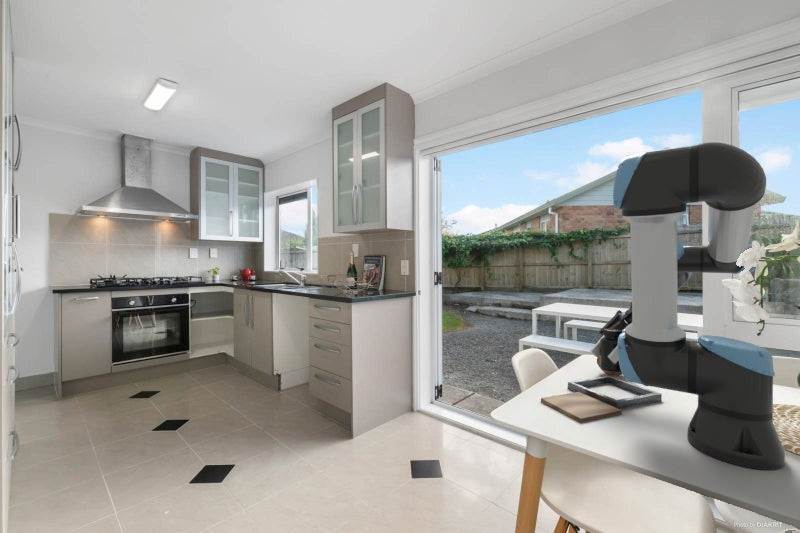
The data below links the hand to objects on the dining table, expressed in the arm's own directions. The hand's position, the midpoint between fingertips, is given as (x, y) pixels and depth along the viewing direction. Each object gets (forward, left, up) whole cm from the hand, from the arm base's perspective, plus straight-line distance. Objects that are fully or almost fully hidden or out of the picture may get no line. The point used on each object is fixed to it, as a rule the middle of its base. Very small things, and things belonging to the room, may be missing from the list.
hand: (602, 356), depth 107 cm
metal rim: (-1, -3, -11) cm, 12 cm away
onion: (+12, -19, -12) cm, 26 cm away
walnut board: (-5, +14, -11) cm, 18 cm away
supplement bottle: (-1, -3, -4) cm, 6 cm away
